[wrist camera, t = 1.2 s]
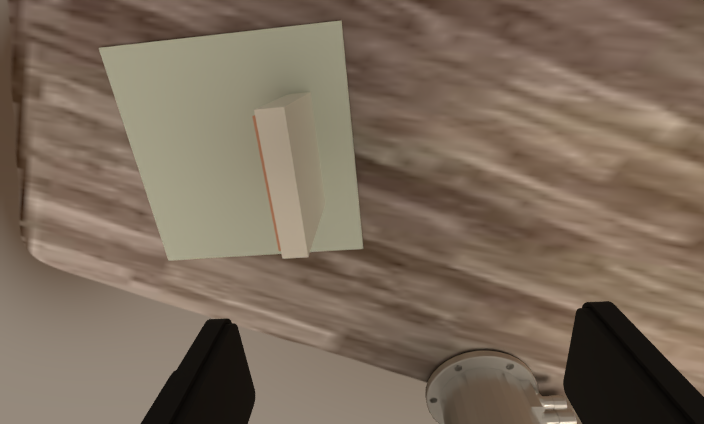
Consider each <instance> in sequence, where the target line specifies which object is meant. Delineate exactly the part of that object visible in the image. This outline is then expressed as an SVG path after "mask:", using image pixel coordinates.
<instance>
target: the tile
mask: <svg viewBox="0 0 704 424" xmlns="http://www.w3.org/2000/svg"><path fill="white" fill-rule="evenodd" d="M254 113H255V115H254V116H252V117H253V122H254V127H255V132H256V137H257V142H258V148H259V153H260V158H261V163H262V168H263V173H264V178H265V183H266V189H267V194H268V199H269V204H270V209H271V214H272V219H273V224H274V229H275V235H276V240H277V245H278V250H279V251H281V253H282V258H283V259H287V258H303V257H309V254H310V251H311V247H312V244H313V241H314V238H315V235H316V232H317V229H318V226H319V222H320V219H321V216H322V213H323V210H324V207H325V196H324V189H323V181H322V174H321V166H320V159H319V151H318V144H317V136H316V128H315V121H314V113H313V106H312V98H311V92H305V93H295V94H288V95H286V96H284V97H282V98H279V99H277V100H275V101H273V102H270V103H268V104H266V105H263V106H261V107H259V108H257V109H254Z"/></svg>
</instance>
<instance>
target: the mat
mask: <svg viewBox="0 0 704 424" xmlns="http://www.w3.org/2000/svg"><path fill="white" fill-rule="evenodd" d="M99 51H100V54H101V57H102V60H103V63H104V66H105V69H106V72H107V75H108V78H109V81H110V84H111V87H112V90H113V93H114V96H115V99H116V102H117V105H118V108H119V112H120V115H121V118H122V121H123V124H124V127H125V130H126V133H127V136H128V139H129V142H130V145H131V148H132V151H133V154H134V157H135V160H136V163H137V166H138V169H139V172H140V175H141V178H142V181H143V184H144V187H145V191H146V194H147V197H148V200H149V203H150V206H151V209H152V212H153V215H154V218H155V221H156V224H157V227H158V230H159V233H160V236H161V239H162V242H163V245H164V248H165V251H166V254H167V257H168V260H169V261H170V260H187V259H203V258H220V257H236V256H253V255H269V254H282V253H281V251H279V250H278V245H277V240H276V235H275V229H274V224H273V219H272V214H271V209H270V204H269V199H268V194H267V189H266V183H265V178H264V173H263V168H262V163H261V158H260V153H259V148H258V142H257V137H256V132H255V127H254V122H253V117H252V116H254V115H255V113H254V109H257V108H259V107H261V106H263V105H266V104H268V103H270V102H273V101H275V100H277V99H279V98H282V97H284V96H286V95H288V94H295V93H305V92H311V98H312V106H313V113H314V121H315V128H316V136H317V144H318V151H319V159H320V166H321V174H322V181H323V189H324V196H325V207H324V210H323V213H322V216H321V219H320V222H319V226H318V229H317V232H316V235H315V238H314V241H313V244H312V247H311V251H310V252H319V251H335V250H352V249H363V239H362V228H361V218H360V207H359V197H358V186H357V176H356V165H355V155H354V144H353V134H352V123H351V113H350V102H349V91H348V81H347V70H346V60H345V49H344V39H343V28H342V21H332V22H323V23H315V24H306V25H297V26H288V27H279V28H271V29H262V30H253V31H244V32H235V33H226V34H218V35H209V36H200V37H191V38H182V39H173V40H165V41H156V42H147V43H138V44H129V45H120V46H112V47H103V48H99Z"/></svg>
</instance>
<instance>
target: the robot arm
mask: <svg viewBox="0 0 704 424" xmlns="http://www.w3.org/2000/svg"><path fill="white" fill-rule="evenodd" d="M563 384H564V390H565V393H566V396H567V398H568V399H569V401H570V403H571V405H572V406H573V408H574V410H575V412H576V413H577V415H578V417H579V419H580V420H581V422H582V424H704V397H703V396H702V395H701V394H700V393H699V392H698V391H697V390H696V389H695V388H694V387H693V385H692V384H691V383H690V382H689V381H688V380H687V379H686V378H685V377H684V376H683V375H682V374H681V373H680V372H679V371H678V370H677V369H676V368H675V367H674V366H673V365H672V364H671V363H670V362H669V361H668V360H667V359H666V358H665V357H664V355H663V354H662V353H661V352H660V351H659V350H658V349H657V348H656V347H655V346H654V345H653V344H652V343H651V342H650V341H649V340H648V339H647V338H646V337H645V336H644V335H643V334H642V333H641V332H640V331H639V330H638V329H637V328H636V327H635V325H634V324H633V323H632V322H631V321H630V320H629V319H628V318H627V317H626V316H625V315H624V314H623V313H622V312H621V311H620V310H619V309H618V308H617V307H616V306H615V305H614V304H613V303H612V302H609V301H606V302H587V303H584V305H583V306H582V308H579V309H578V310H577V311H576V316H575V321H574V327H573V332H572V337H571V343H570V348H569V354H568V359H567V365H566V370H565V375H564V382H563ZM426 400H427V406H428V409H429V412H430V413H431V415H432V416H433V418H434V419H435V420H436V421H437V422H438V423H439V424H577V420H576V417H575V414H574V412H573V411H572V409H567V403H566V399H565V397H564V396H563V395H550V396H541V395H540V394H539V387H538V384H537V382H536V379H535V377H534V375H533V374H532V372H531V370H530V369H529V368H528V367H527V366H526V364H524V363H523V362H522V361H520V360H519V359H517V358H515V357H513V356H511V355H509V354H505V353H501V352H496V351H473V352H468V353H464V354H461V355H458V356H455V357H453V358H451V359H449V360H447V361H446V362H444V363H443V364H442V365H440V366H439V367H438V368H437V369H436V370H435V371H434V372H433V373H432V375H431V377H430V378H429V380H428V383H427V386H426ZM254 402H255V389H254V386H253V382H252V378H251V375H250V371H249V367H248V363H247V360H246V356H245V353H244V349H243V345H242V341H241V337H240V334H239V330H238V327H237V325H236V324H232V323H231V320H230V319H209V320H207V321H206V323H205V324H204V326H203V327H202V329H201V331H200V332H199V334H198V336H197V337H196V339H195V341H194V342H193V344H192V346H191V347H190V349H189V350H188V352H187V354H186V355H185V357H184V359H183V360H182V362H181V364H180V365H179V367H178V369H177V370H176V371H174V372H173V373H172V375H171V376H170V377H169V379H168V380H167V382H166V384H165V386H164V387H163V389H162V390H161V392H160V393H159V395H158V397H157V398H156V400H155V401H154V403H153V405H152V406H151V408H150V410H149V411H148V413H147V414H146V416H145V418H144V419H143V421H142V422H141V424H248V421H249V418H250V415H251V412H252V409H253V406H254ZM545 409H553V410H545Z"/></svg>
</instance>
